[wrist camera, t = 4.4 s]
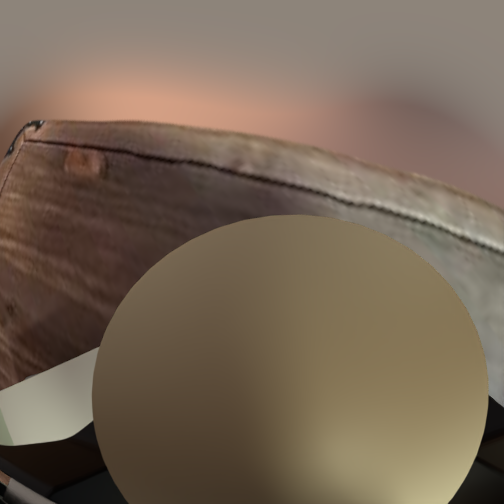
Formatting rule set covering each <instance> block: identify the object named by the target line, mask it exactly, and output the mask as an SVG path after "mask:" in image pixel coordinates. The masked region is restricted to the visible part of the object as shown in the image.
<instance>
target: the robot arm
mask: <svg viewBox="0 0 504 504" xmlns="http://www.w3.org/2000/svg"><path fill="white" fill-rule="evenodd" d="M0 470H1V471H2V472H4V473H5V474H7V475H8V476H10V477H11V478H10V480H9V483H8V485H5V484H4V483H2V482H1V481H0V504H129V503H128V502H127V501H126V499H125V498H124V496H123V495H122V493H121V492H120V490H119V489H118V487H117V485H116V484H115V482H114V481H113V479H112V477H111V475H110V473H109V471H108V468H107V466H106V464H105V462H104V460H103V457H102V454H101V451H100V448H99V444H98V441H97V437H96V432H95V427H94V422H93V421H92V422H90V423H89V424H88V425H87V426H85V427H84V428H83V429H81V430H80V431H79V432H77V433H76V434H74V435H73V436H71V437H68V438H66V439H62V440H57V441H50V442H43V443H35V444H26V445H15V446H7V445H1V444H0ZM448 504H504V407H502V406H501V405H500V404H499V403H498V402H496V401H495V400H494V399H493V398H492V397H490V396H489V395H488V410H487V417H486V423H485V429H484V433H483V436H482V440H481V443H480V446H479V449H478V452H477V455H476V457H475V459H474V461H473V464H472V466H471V468H470V470H469V472H468V474H467V476H466V478H465V479H464V481H463V483H462V484H461V486H460V487H459V489H458V490H457V492H456V493H455V495H454V496H453V498H452V499H451V500H450V501H449V502H448Z"/></svg>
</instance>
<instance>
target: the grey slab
mask: <svg viewBox="0 0 504 504" xmlns="http://www.w3.org/2000/svg"><path fill="white" fill-rule="evenodd" d="M98 350H99V347H98V348H95V349H93V350H91V351H89V352H87V353H84V354H82V355H80V356H78V357H76V358H74V359H71V360H69V361H67V362H65V363H62V364H60V365H58V366H56V367H54V368H51V369H49V370H47V371H45V372H42V373H39V374H35V375H31V376H28V377H26V378H25V380H24V381H22V382H20V383H17V384H15V385H13V386H11V387H8V388H6V389H4V390H1V391H0V409H1V411H2V414H3V417H4V420H5V423H6V425H7V428H8V431H9V433H10V436H11V438H12V441H13V443H14V446H15V445H26V444H35V443H43V442H50V441H57V440H62V439H66V438H68V437H71V436H73V435H74V434H76V433H77V432H79V431H80V430H81V429H83V428H84V427H85V426H87V425H88V424H89V423H90V422H92V421H93V413H92V383H93V372H94V368H95V363H96V358H97V354H98Z"/></svg>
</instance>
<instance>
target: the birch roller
mask: <svg viewBox="0 0 504 504" xmlns="http://www.w3.org/2000/svg"><path fill="white" fill-rule="evenodd" d="M487 410H488V374H487V367H486V360H485V355H484V351H483V348H482V345H481V341H480V338H479V335H478V332H477V330H476V327H475V325H474V323H473V321H472V319H471V317H470V315H469V313H468V311H467V309H466V307H465V306H464V304H463V303H462V301H461V300H460V298H459V297H458V295H457V294H456V293H455V291H454V290H453V288H452V287H451V286H450V285H449V283H448V282H447V281H446V280H445V279H444V278H443V277H442V276H441V275H440V274H439V273H438V272H437V271H436V270H435V269H434V268H433V267H432V266H431V265H430V264H429V263H427V262H426V261H425V260H424V259H422V258H421V257H420V256H419V255H417V254H416V253H415V252H413V251H412V250H411V249H409V248H407V247H406V246H404V245H402V244H401V243H399V242H397V241H395V240H394V239H392V238H390V237H388V236H386V235H384V234H382V233H379V232H377V231H374V230H372V229H369V228H367V227H364V226H361V225H359V224H355V223H351V222H347V221H343V220H338V219H334V218H329V217H320V216H310V215H272V216H266V217H260V218H253V219H247V220H242V221H239V222H236V223H232V224H229V225H226V226H222V227H219V228H216V229H214V230H212V231H209V232H207V233H205V234H202V235H200V236H198V237H196V238H194V239H191V240H190V241H188V242H187V243H185V244H183V245H182V246H180V247H178V248H177V249H175V250H173V251H172V252H170V253H169V254H167V255H166V256H165V257H164V258H163V259H161V260H160V261H159V262H158V263H156V264H155V265H154V266H153V267H151V268H150V269H149V270H148V271H147V272H146V273H145V274H144V275H143V276H142V277H141V278H140V279H139V281H138V282H137V283H136V284H135V285H134V286H133V287H132V288H131V289H130V291H129V292H128V294H127V295H126V296H125V298H124V299H123V301H122V302H121V303H120V305H119V306H118V308H117V309H116V311H115V313H114V315H113V317H112V319H111V321H110V323H109V324H108V326H107V328H106V331H105V333H104V336H103V339H102V342H101V344H100V347H99V350H98V354H97V358H96V363H95V368H94V372H93V383H92V413H93V422H94V427H95V432H96V437H97V441H98V444H99V448H100V451H101V454H102V457H103V460H104V462H105V464H106V466H107V468H108V471H109V473H110V475H111V477H112V479H113V481H114V482H115V484H116V485H117V487H118V489H119V490H120V492H121V493H122V495H123V496H124V498H125V499H126V501H127V502H128V503H129V504H448V502H449V501H450V500H451V499H452V498H453V496H454V495H455V493H456V492H457V490H458V489H459V487H460V486H461V484H462V483H463V481H464V479H465V478H466V476H467V474H468V472H469V470H470V468H471V466H472V464H473V461H474V459H475V457H476V455H477V452H478V449H479V446H480V443H481V440H482V436H483V433H484V429H485V423H486V417H487Z"/></svg>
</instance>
